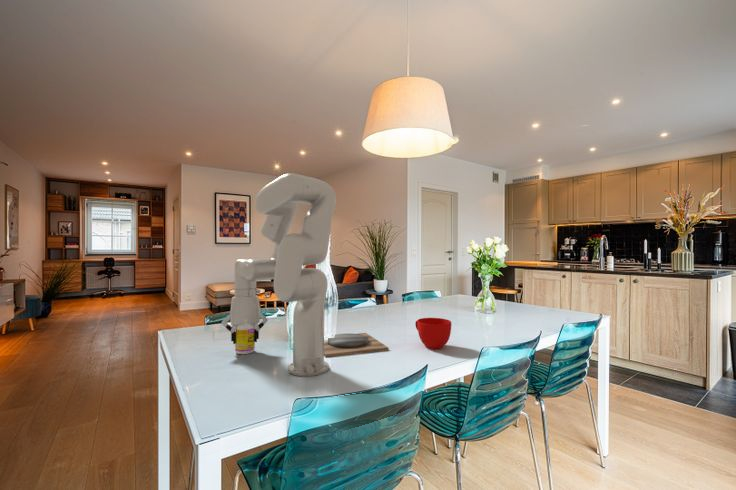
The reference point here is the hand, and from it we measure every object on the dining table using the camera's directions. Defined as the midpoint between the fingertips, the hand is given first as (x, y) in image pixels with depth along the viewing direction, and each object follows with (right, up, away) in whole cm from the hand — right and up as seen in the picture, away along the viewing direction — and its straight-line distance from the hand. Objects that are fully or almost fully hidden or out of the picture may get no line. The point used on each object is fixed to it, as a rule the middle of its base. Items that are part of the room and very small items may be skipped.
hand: (245, 341), depth 127 cm
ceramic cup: (+69, -4, +9) cm, 70 cm away
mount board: (+37, -4, +10) cm, 38 cm away
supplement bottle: (0, -4, 0) cm, 4 cm away
